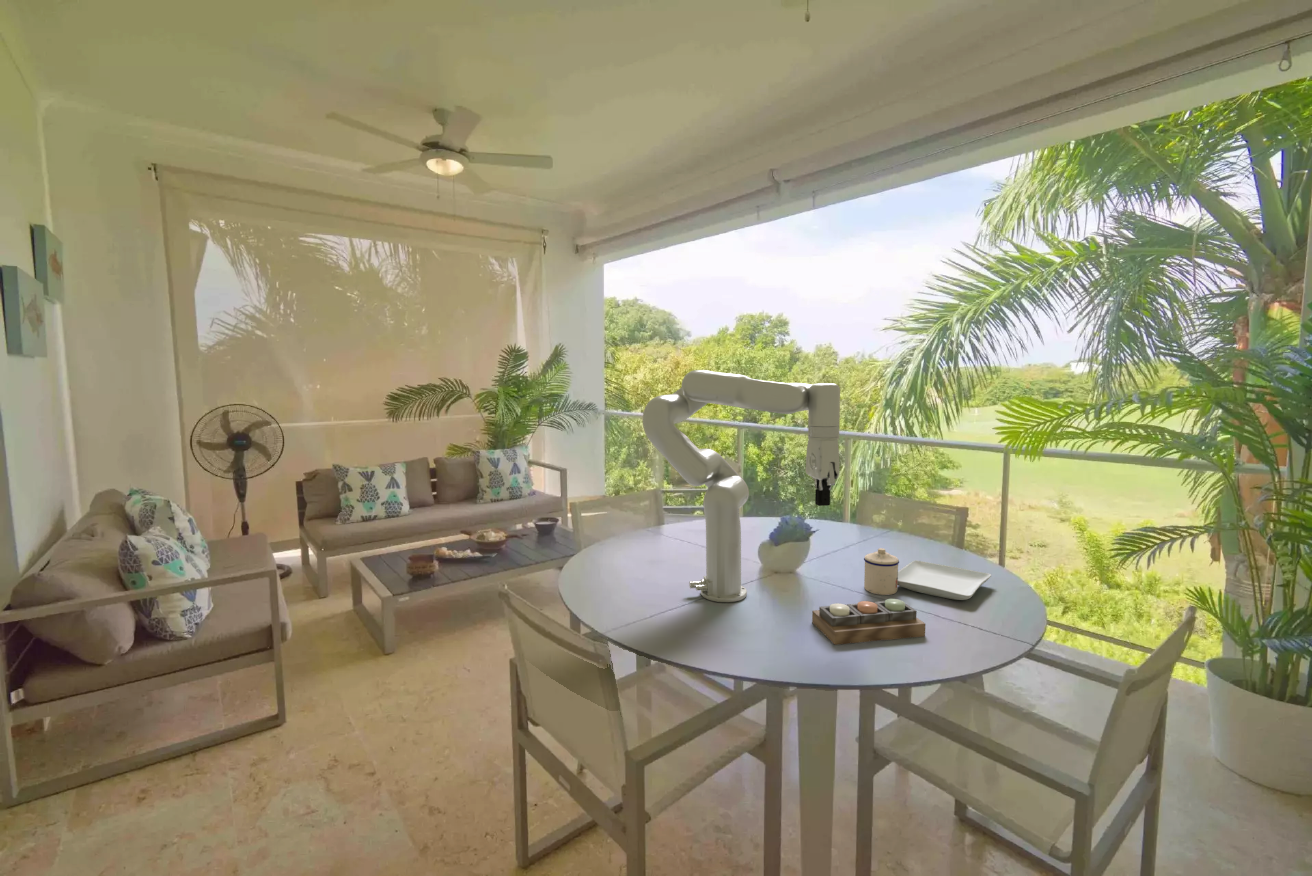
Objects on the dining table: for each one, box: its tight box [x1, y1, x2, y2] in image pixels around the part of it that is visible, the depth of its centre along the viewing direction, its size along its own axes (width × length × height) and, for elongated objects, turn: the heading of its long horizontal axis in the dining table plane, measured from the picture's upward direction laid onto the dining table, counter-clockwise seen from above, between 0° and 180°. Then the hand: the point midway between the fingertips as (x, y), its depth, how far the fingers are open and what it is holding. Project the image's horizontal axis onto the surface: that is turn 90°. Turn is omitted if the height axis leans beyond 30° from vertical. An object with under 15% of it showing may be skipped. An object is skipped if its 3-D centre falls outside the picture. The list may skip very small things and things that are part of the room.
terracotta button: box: [857, 600, 878, 614], centre depth 138 cm, size 4×4×2 cm
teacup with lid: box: [863, 547, 900, 596], centre depth 164 cm, size 12×9×12 cm
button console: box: [811, 600, 926, 646], centre depth 138 cm, size 22×12×5 cm, turn 99°
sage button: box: [884, 598, 906, 612], centre depth 139 cm, size 4×4×2 cm
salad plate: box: [898, 560, 992, 601], centre depth 164 cm, size 21×21×3 cm
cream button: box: [829, 602, 850, 617], centre depth 136 cm, size 4×4×2 cm
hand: (822, 504), depth 148 cm, fingers closed
